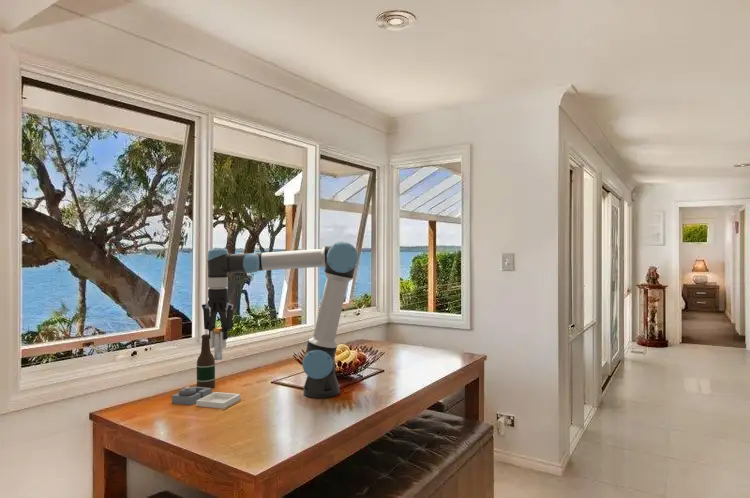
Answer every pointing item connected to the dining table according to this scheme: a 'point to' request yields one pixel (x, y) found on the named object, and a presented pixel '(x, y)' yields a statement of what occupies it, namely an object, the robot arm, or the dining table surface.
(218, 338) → the lock pin
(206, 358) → the beer bottle
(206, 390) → the block
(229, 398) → the tray
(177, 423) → the dining table surface
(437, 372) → the dining table surface
